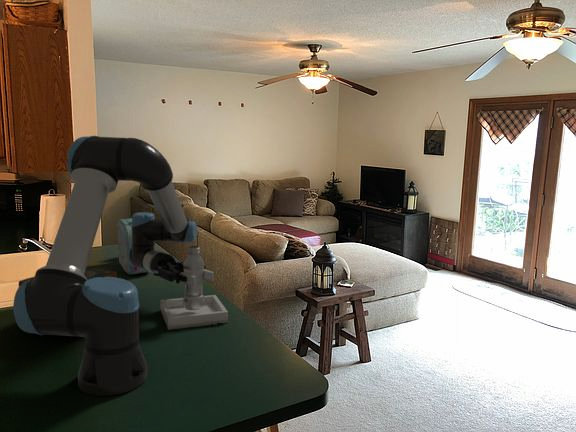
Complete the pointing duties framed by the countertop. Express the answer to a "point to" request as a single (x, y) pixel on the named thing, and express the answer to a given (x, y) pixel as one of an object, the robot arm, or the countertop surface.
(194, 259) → the plastic bottle
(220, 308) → the tray
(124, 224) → the lunch box
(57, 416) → the countertop surface
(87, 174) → the robot arm
